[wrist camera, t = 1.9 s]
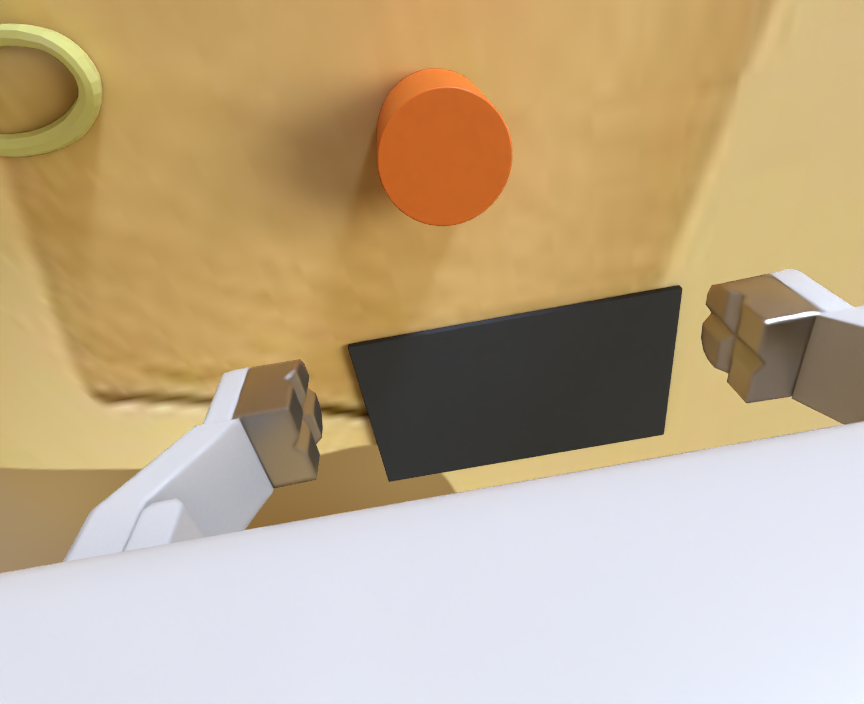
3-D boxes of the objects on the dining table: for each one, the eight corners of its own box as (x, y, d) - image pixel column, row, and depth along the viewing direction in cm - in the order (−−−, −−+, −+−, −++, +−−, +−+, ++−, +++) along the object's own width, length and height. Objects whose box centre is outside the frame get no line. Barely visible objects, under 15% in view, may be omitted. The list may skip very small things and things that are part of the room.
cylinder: (485, 57, 24) (507, 73, 20) (496, 178, 27) (517, 213, 23) (365, 80, 24) (362, 101, 20) (390, 198, 27) (392, 236, 23)
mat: (679, 284, 32) (682, 288, 31) (661, 430, 39) (663, 434, 38) (348, 344, 32) (347, 347, 32) (388, 477, 39) (388, 481, 39)
